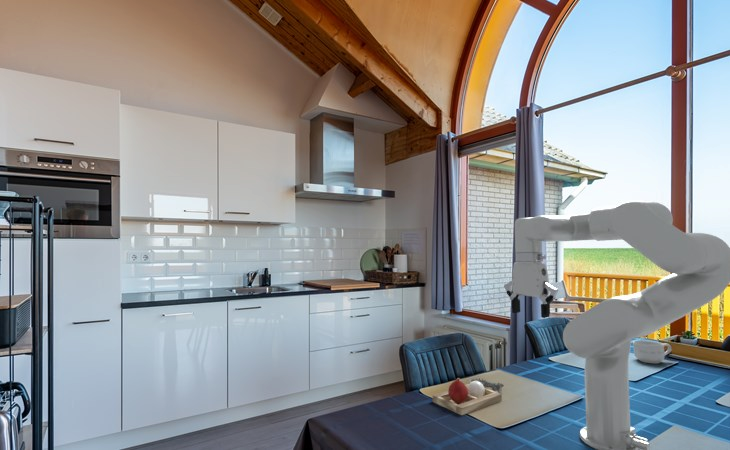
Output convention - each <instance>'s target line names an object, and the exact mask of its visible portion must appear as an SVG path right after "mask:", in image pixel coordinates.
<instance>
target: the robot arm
mask: <svg viewBox="0 0 730 450" xmlns="http://www.w3.org/2000/svg"><path fill="white" fill-rule="evenodd" d="M673 222H674V218H673V214H672V212H671V210H670V209H669V208H668V207H667V206H665V205H664V204H663V203H660V202H655V201H647V200H645V201H644V200H628V201H625V202H622V203H620V204H618V205H614V206H613V205H611V206H604V207H601V206H600V207H597V208H593V209H592V210H591V211H590V212H589V213H583V214H574V215H572V214H571V215H549V214H548V215H537V216H534V217H519V218H517V219H515V221H514V240H515V241H514V244H515V245H514V246H515V248H514V249H515V250H514V251H515V262H514V263H513V266H512V275H511V276H512V277H511V281H510V282H507V283H505V284H504V285H503V287H504V289H505V291H506V295H507V296H508V297H509V299H510V300H511V310H512V311H511V312H512V314H517V313H521V300H520V297H521V296H525V297H534V298H536V297H537V298H538V299H539V300H540V301H541V304H540V317H541V318H542V319H545V318H549V317H550V315H551V306H550V305H551V304H552V302H553V301H554V300H555V299H556V297H557V295H558V293H559V289H558V288H556V287H554V286H553V285H551V284H550V280H549V274H548V269H547V265H546V263H545V262H543V260H546V259H547V257H546V256H547V255H546V254H543V244H542V243H544V242H545V243H546V242H575V241H576V242H577V241H594V240H595V241H597V242H599V241H601V242H603V241H619V240H623V242H625V243H626V244H628V245H629V246H630V247H632V248H633V249H635V250H636V251H637V252H638V253H640V254H641V255H642V256H644V257H645V258H646V259H647V260H649V261H650V262H651V263H653V264H654V265H655V266H657V267H658V268H660V269H661V270H663V271H665V272H667V273H670V274H669V275H666V276H664V277H662V278H660V279H659V280H657V281H656V282H654V283H653V284H651V285H650V286H647V287H646V288H644V289H641V290H640V291H638V292H635V293H631V294H624V295H617V296H616V295H615V296H613V297H610V298H606V299H604V300H602V301H600V302H599V303H597V304H595V305H594V306H592V307H591V308H589V309H587V310H586V311H584V312H582V313H580V314H579V315H577V316H576V317H574V318H573V319H571V320H570V321H569V322H568V323H567V324H566V326H564V328H563V331H562V332H563V333H562V340H563V344H564V346H565V347H566V349H567V350H568V351H569V352H570V353H571V354H573V355H574V356H576V357H578V358H581V359H585V360H584V389H585V390H584V393H585V396H584V398H585V400H584V401H585V425H586V426H584V427H582V428H580V431H579V437H580V439H581V441H583V443H584V444H586V445H587V446H589V447H591V448H593V449H595V450H651V445H650V443H649V439H647V438H645V437H642V436H640V435H639V436H638V434H637V433H636V428H635V427H633V426H631V410H630V409H631V407H630V403H631V402H630V385H629V383H630V380H629V379H630V375H629V369H630V368H629V365H630V354H631V346H632V340H634V339H637V338H642V337H646V336H650V335H652V334H654V333H656V332H658V331H659V330H661V329H662V328H664V327H666V326H668V325H669V324H672V323H674V322H675V321H677V320H679V319H682V318H684V317H685V316H687V315H688V314H690V313H692V312H694V311H696V310H698V309H700V308H701V307H704V306H705V305H707V304H709V303H711V302H712V301H713V300H715V299H716V298H717V297H718V296H720V295H721V294H722V293H723V292H724V291H725V290H726V289H727V287H728V286H729V284H730V246H729V244H727V243H726V241H725V240H723V239H722V238H720V237H718V236H716V235H713V234H709V233H705V232H704V233H703V232H702V233H701V232H684V231H683V230H681V229H679V228H678V227H676V226H675V225H673Z"/></svg>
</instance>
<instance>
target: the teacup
mask: <svg viewBox="0 0 730 450" xmlns="http://www.w3.org/2000/svg"><path fill="white" fill-rule="evenodd" d="M665 346H666V347H667V350H666V351H665ZM632 347H633V355H634V356H635V358H636V359H637V360H639V361H640V362H642V363H647V364H660V363H661V362H663V360H664V359H665V356H667V355H668V354H670V353H671V352H672V346H671V345H670V344H669V343H666V342H664V343H663V342H659V341H653V340H633V341H632Z"/></svg>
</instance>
